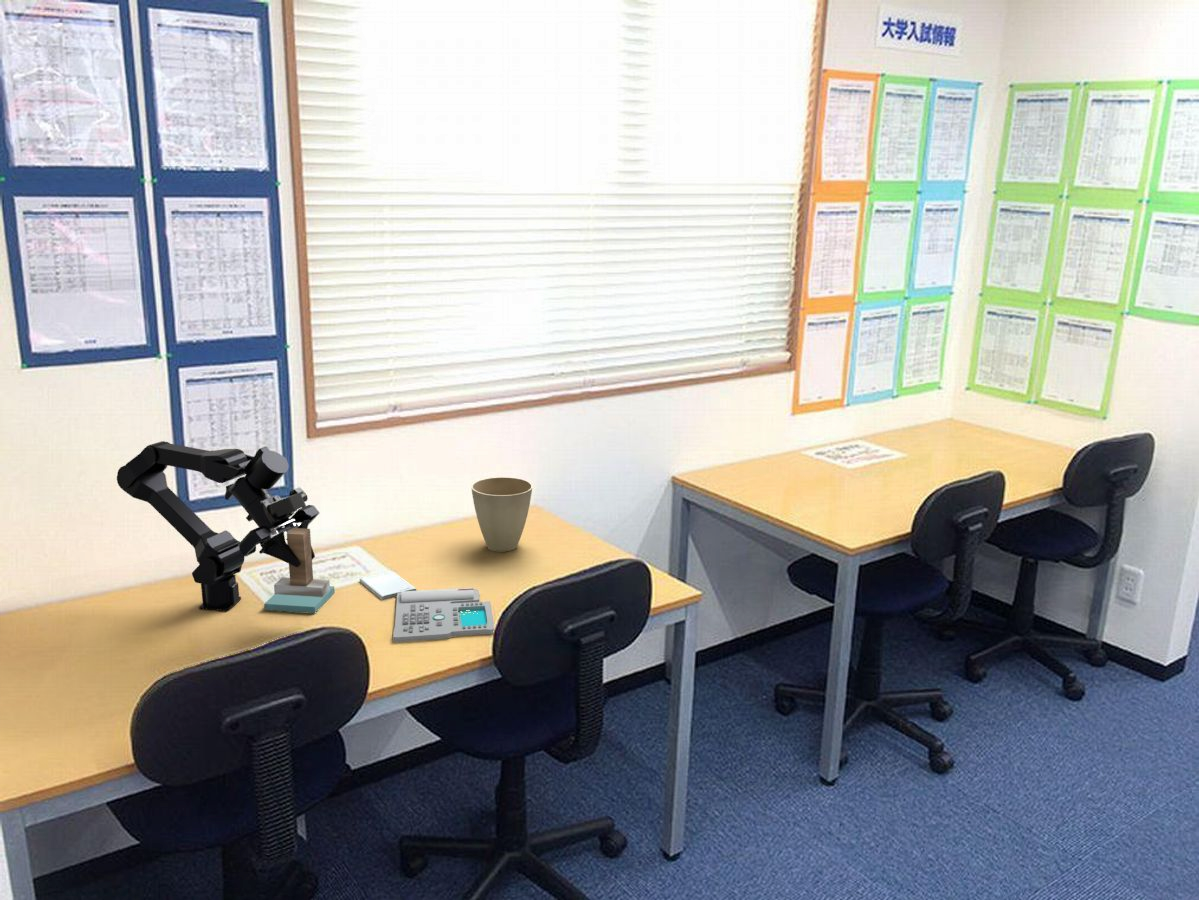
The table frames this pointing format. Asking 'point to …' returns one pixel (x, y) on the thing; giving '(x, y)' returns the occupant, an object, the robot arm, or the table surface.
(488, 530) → the plant pot
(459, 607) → the office telephone
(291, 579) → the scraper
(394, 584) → the hard drive
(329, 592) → the plate
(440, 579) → the table surface
